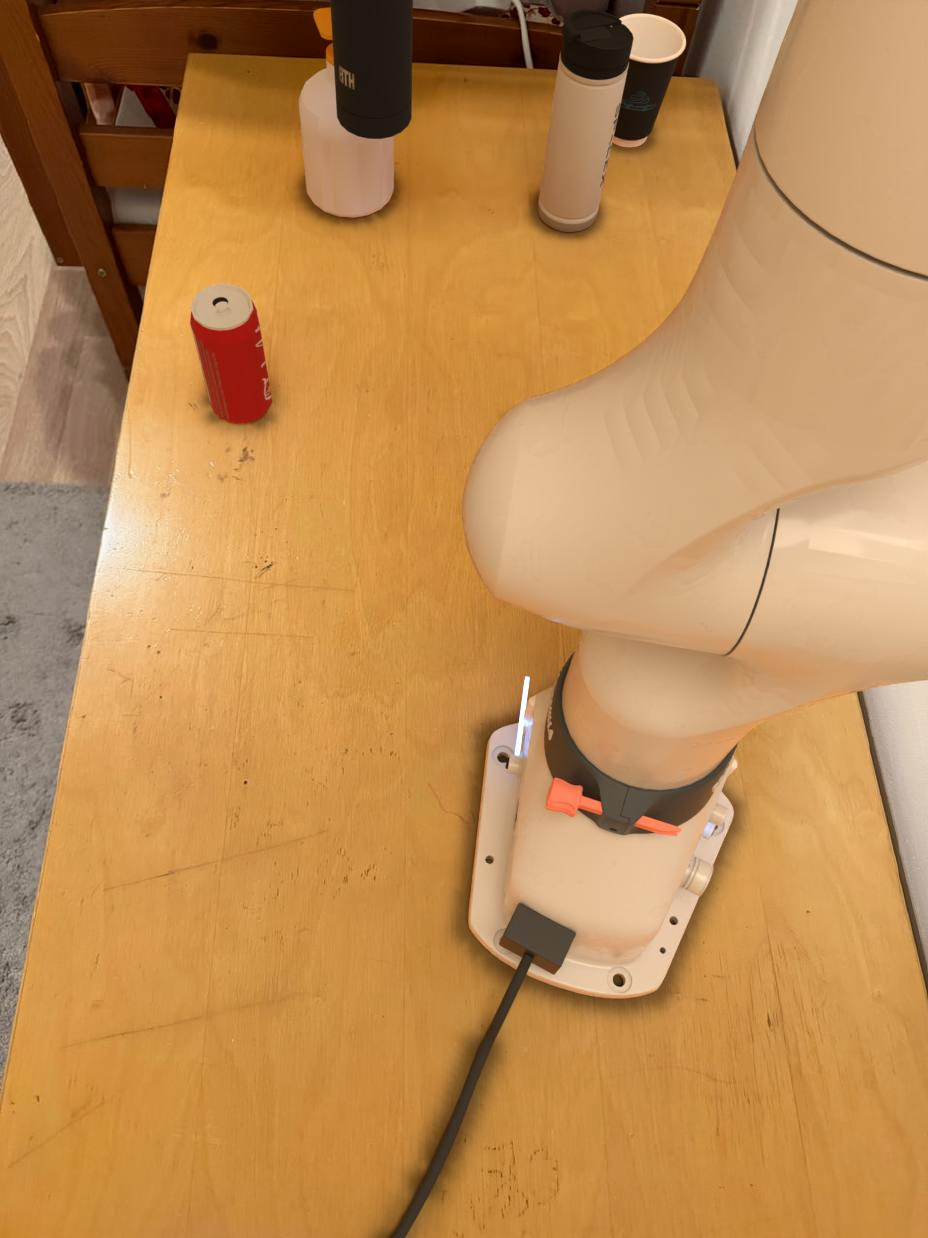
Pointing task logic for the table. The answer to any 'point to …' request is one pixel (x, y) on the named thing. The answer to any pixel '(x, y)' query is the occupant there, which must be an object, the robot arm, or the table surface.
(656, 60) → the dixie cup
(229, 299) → the soda can
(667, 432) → the robot arm
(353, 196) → the soap bottle
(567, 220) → the travel mug
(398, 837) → the table surface
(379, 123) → the black insulated water bottle
